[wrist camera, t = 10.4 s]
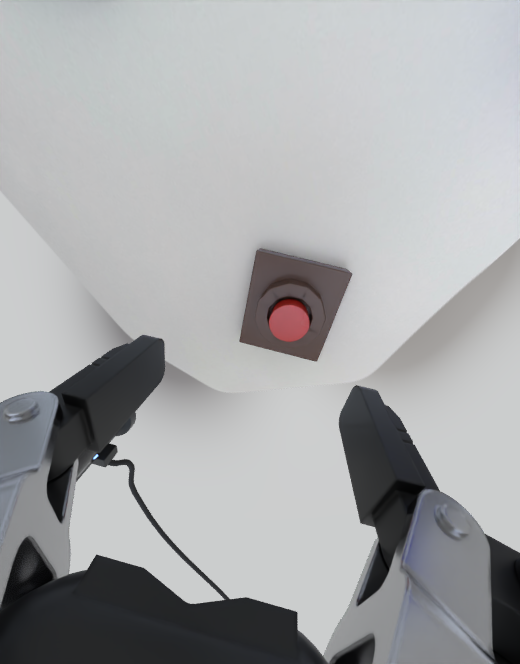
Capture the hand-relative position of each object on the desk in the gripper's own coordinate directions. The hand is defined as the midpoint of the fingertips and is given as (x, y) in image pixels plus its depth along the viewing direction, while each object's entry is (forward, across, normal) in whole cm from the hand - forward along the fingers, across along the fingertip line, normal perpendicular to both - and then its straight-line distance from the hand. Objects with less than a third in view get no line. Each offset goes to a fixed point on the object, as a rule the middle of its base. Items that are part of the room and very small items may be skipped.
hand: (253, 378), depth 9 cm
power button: (+12, -2, +2) cm, 13 cm away
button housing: (+16, -2, +2) cm, 16 cm away
